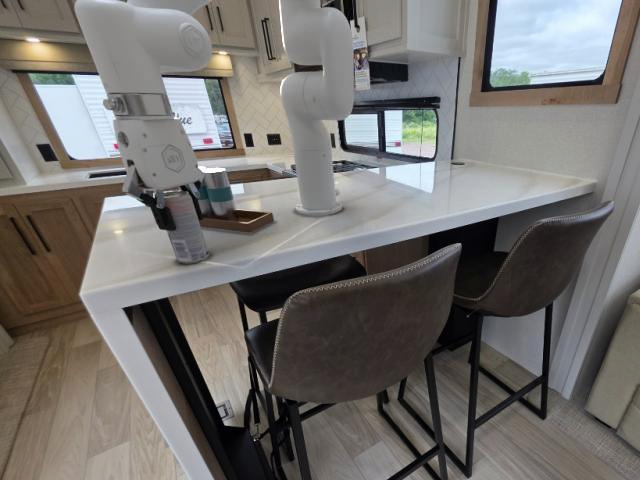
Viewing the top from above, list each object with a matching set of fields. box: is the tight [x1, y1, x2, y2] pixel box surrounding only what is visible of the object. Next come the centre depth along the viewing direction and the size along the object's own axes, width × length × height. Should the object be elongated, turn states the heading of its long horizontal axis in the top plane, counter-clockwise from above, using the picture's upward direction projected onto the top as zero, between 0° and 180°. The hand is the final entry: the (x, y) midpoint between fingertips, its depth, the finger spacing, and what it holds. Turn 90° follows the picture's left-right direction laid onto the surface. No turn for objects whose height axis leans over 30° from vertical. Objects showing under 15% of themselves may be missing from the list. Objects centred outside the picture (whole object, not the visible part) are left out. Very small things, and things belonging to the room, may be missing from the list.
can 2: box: [202, 167, 239, 222], centre depth 77 cm, size 5×5×12 cm
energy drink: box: [164, 190, 210, 265], centre depth 60 cm, size 5×5×12 cm
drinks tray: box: [199, 208, 275, 234], centre depth 80 cm, size 9×19×2 cm, turn 74°
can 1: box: [185, 166, 215, 219], centre depth 78 cm, size 5×5×12 cm
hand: (182, 223), depth 59 cm, fingers closed on energy drink, 5 cm apart
